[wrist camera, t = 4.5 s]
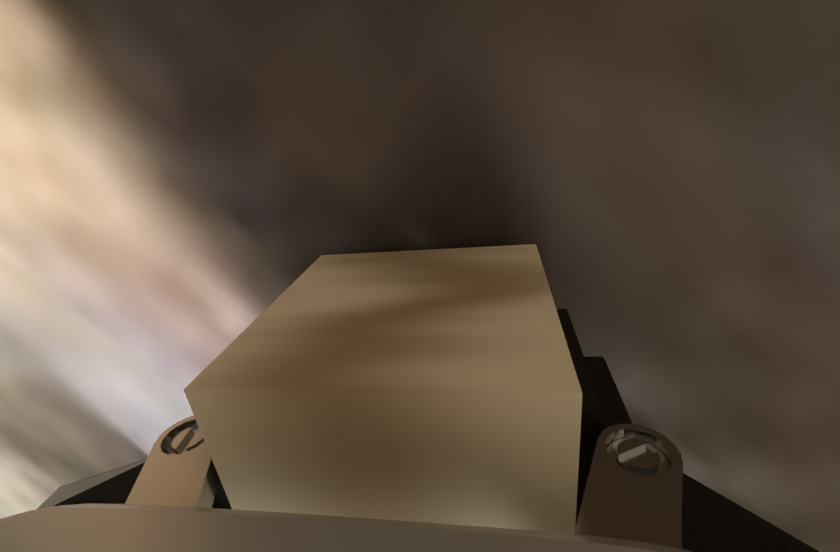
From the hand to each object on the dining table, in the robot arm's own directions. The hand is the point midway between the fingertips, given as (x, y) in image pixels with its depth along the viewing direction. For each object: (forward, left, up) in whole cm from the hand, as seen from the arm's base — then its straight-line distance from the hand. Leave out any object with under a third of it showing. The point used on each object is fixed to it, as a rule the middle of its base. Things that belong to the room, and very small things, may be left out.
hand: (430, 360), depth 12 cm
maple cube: (0, 0, -1) cm, 1 cm away
